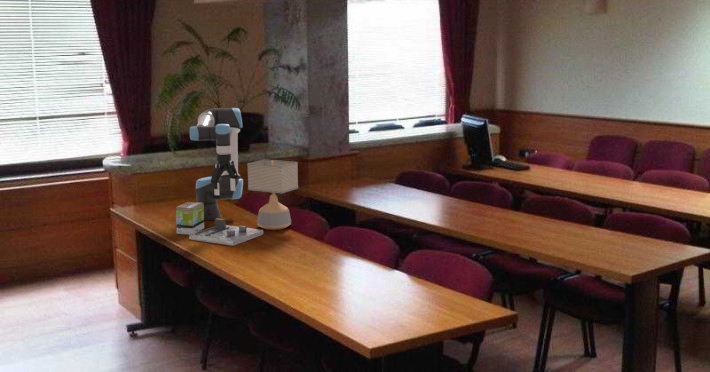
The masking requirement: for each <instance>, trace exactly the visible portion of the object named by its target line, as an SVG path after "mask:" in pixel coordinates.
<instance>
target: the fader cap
mask: <svg viewBox="0 0 710 372" xmlns="http://www.w3.org/2000/svg"><path fill="white" fill-rule="evenodd" d="M226 225H227V222H226V218H221V217H220V218H216V219H214V226H215V229H224V228H226Z"/></svg>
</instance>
